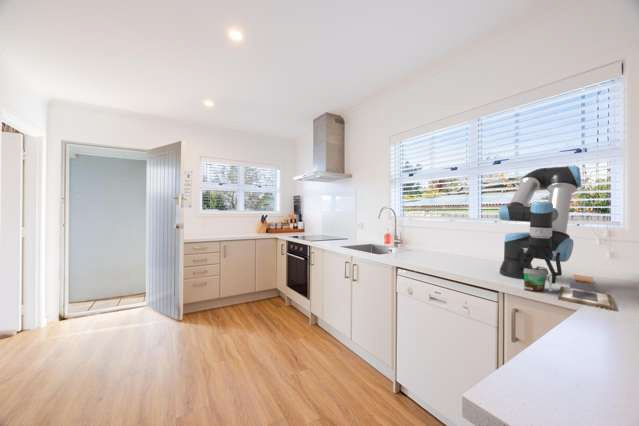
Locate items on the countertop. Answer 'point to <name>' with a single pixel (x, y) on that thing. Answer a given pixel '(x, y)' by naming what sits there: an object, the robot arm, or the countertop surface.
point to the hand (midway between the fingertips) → (537, 287)
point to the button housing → (583, 285)
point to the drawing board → (586, 298)
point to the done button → (583, 279)
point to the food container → (535, 279)
